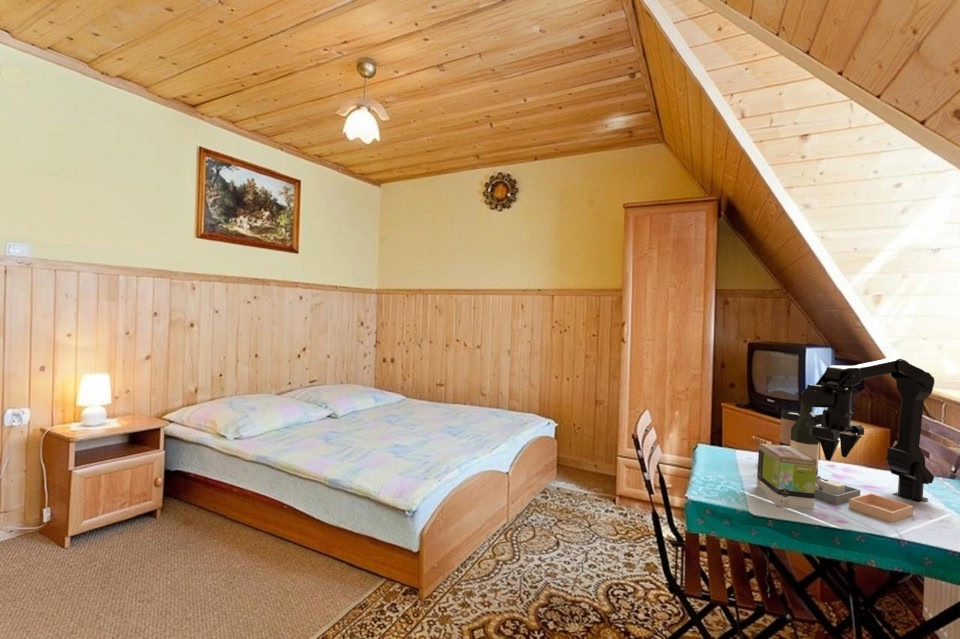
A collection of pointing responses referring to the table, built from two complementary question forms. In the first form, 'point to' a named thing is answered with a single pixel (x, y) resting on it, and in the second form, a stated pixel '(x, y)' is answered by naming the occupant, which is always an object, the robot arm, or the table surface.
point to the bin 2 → (881, 507)
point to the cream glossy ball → (820, 483)
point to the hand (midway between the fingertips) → (836, 458)
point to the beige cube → (833, 487)
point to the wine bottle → (804, 436)
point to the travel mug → (787, 426)
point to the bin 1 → (836, 499)
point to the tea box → (786, 476)
